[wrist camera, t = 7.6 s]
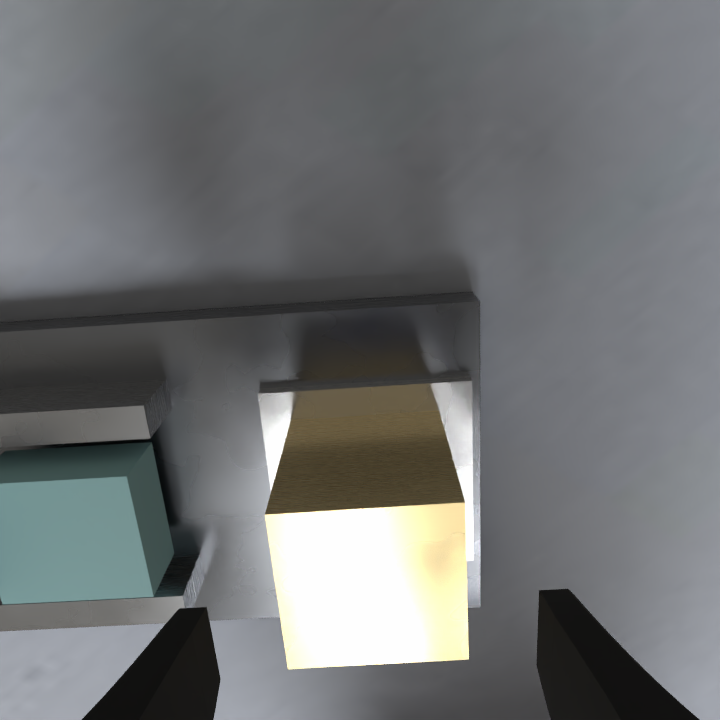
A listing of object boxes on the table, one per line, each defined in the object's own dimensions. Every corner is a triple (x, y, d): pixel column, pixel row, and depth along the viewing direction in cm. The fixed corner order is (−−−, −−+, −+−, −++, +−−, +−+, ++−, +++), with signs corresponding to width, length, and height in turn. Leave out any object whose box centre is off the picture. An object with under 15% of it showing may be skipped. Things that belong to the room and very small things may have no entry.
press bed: (472, 291, 18) (493, 319, 15) (474, 583, 22) (491, 652, 19) (-157, 333, 19) (-256, 367, 16) (-55, 610, 23) (-119, 681, 20)
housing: (438, 410, 18) (465, 502, 13) (443, 536, 20) (468, 659, 15) (290, 420, 18) (264, 515, 13) (306, 544, 20) (287, 669, 15)
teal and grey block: (151, 442, 18) (76, 545, 13) (174, 553, 19) (112, 683, 15) (-47, 453, 18) (-191, 560, 13) (-11, 562, 20) (-130, 694, 15)
